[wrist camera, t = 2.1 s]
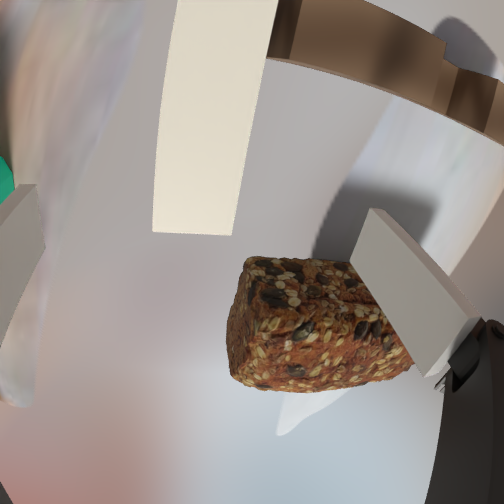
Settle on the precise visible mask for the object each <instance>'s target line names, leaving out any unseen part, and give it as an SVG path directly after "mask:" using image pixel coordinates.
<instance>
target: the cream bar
mask: <svg viewBox="0 0 504 504" xmlns="http://www.w3.org/2000/svg"><path fill="white" fill-rule="evenodd" d="M277 5H278V0H178V4H177V9H176V14H175V19H174V24H173V29H172V35H171V40H170V46H169V53H168V59H167V65H166V72H165V79H164V86H163V94H162V102H161V111H160V120H159V130H158V141H157V153H156V167H155V181H154V182H155V183H154V202H153V229H152V231H153V232H170V233H192V234H212V235H231V234H232V228H233V224H234V218H235V212H236V207H237V202H238V196H239V190H240V185H241V180H242V175H243V169H244V163H245V159H246V154H247V149H248V143H249V138H250V133H251V128H252V123H253V118H254V113H255V108H256V103H257V98H258V93H259V88H260V84H261V79H262V73H263V69H264V64H265V60H266V55H267V50H268V46H269V41H270V36H271V32H272V27H273V22H274V18H275V13H276V9H277Z"/></svg>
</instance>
